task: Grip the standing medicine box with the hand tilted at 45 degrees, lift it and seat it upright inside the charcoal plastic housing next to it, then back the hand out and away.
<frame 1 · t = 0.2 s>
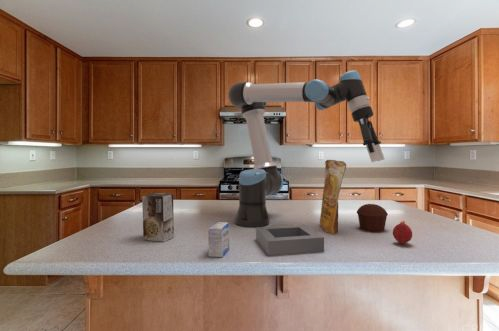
hand: (378, 160, 106), 28 cm above the countertop, tool tilted 20°, fingers open, 13 cm apart
medicine box: (219, 253, 86), on the countertop
red rounded lump: (402, 245, 93), on the countertop
housing: (287, 245, 92), on the countertop
muffin: (371, 229, 112), on the countertop
coffee box: (158, 239, 100), on the countertop
pancake mix bag: (330, 229, 113), on the countertop
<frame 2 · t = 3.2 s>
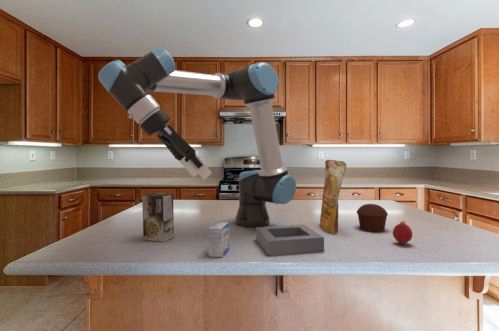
hand: (202, 175, 80), 24 cm above the countertop, tool tilted 40°, fingers open, 13 cm apart
nothing on the countertop moved.
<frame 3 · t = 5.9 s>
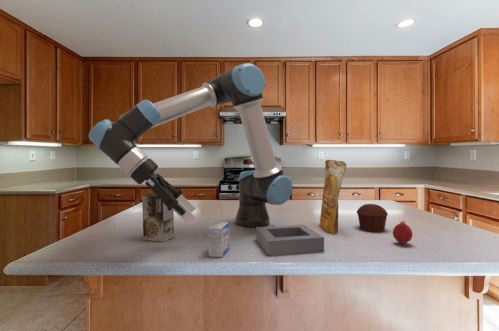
hand: (193, 215, 83), 12 cm above the countertop, tool tilted 45°, fingers open, 13 cm apart
nothing on the countertop moved.
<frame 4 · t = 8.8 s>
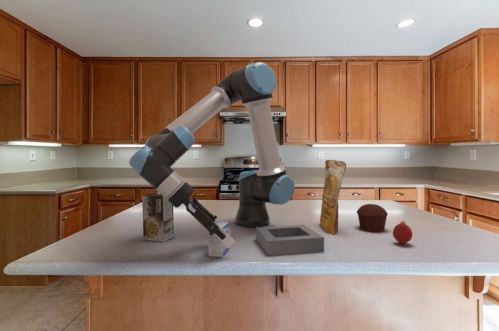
hand: (229, 239, 86), 4 cm above the countertop, tool tilted 45°, fingers closed on medicine box, 9 cm apart
medicine box: (219, 253, 86), on the countertop, touching gripper
everything else where it was.
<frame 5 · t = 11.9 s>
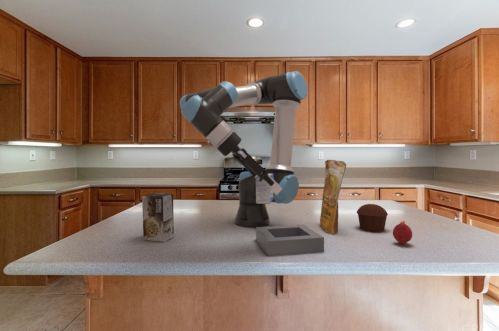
hand: (275, 189, 88), 19 cm above the countertop, tool tilted 45°, fingers closed on medicine box, 9 cm apart
medicine box: (265, 202, 88), point 15 cm above the countertop, touching gripper
everything else where it was.
when the fingers open (6 cm above the countertop, at t = 15.4 s): medicine box drops 1 cm, resting on housing.
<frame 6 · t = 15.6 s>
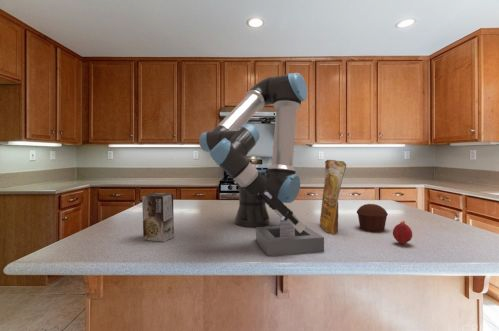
hand: (295, 225, 93), 7 cm above the countertop, tool tilted 45°, fingers open, 11 cm apart
medicine box: (287, 243, 92), point 1 cm above the countertop, touching housing
everything else where it was.
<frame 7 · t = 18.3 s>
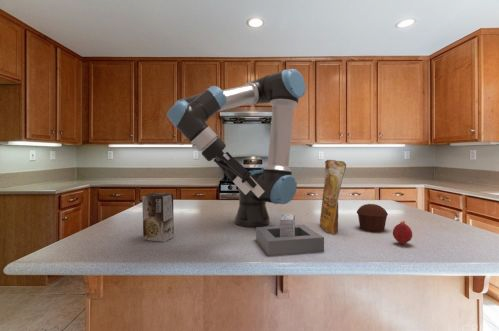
hand: (254, 193, 90), 18 cm above the countertop, tool tilted 45°, fingers open, 13 cm apart
nothing on the countertop moved.
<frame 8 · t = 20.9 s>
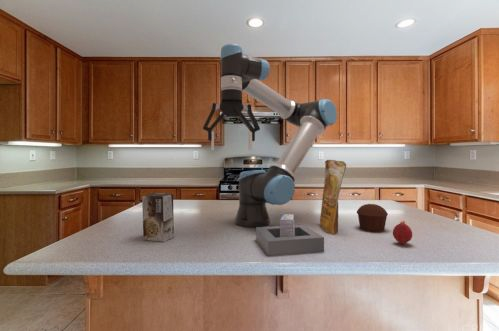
hand: (231, 150, 99), 32 cm above the countertop, tool pointing down, fingers open, 13 cm apart
nothing on the countertop moved.
at the end: medicine box inside the target area on the housing (0.1 cm from its centre), point 0.8 cm above the housing's base; medicine box tilted 0°; the gripper is holding nothing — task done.
